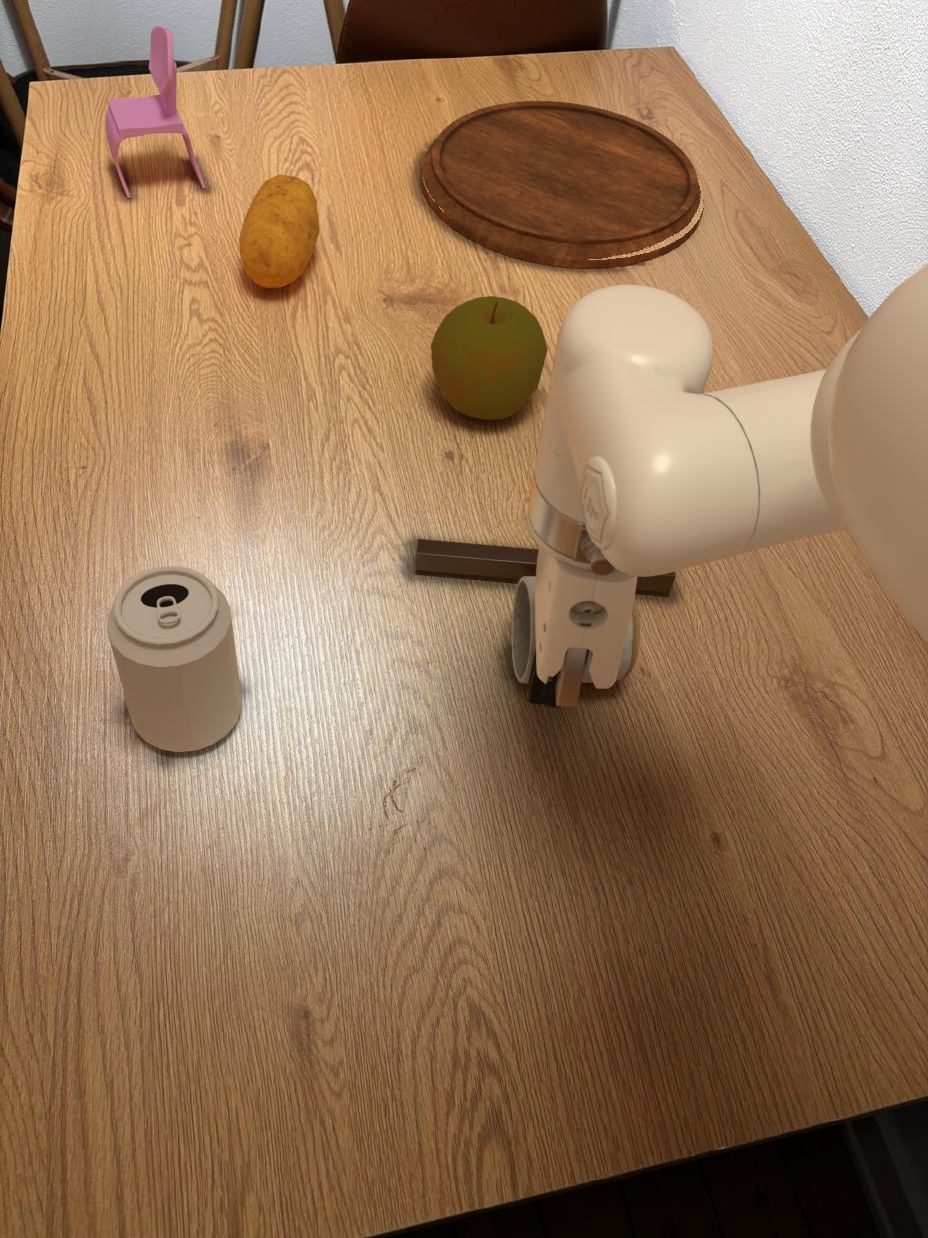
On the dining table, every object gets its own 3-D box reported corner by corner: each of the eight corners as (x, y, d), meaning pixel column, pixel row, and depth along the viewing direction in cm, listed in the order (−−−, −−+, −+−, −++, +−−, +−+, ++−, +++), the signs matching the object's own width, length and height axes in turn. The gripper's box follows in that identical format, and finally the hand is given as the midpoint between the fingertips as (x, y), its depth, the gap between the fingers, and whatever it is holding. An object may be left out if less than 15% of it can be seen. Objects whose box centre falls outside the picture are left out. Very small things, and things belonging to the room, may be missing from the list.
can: (232, 660, 80) (217, 546, 70) (252, 745, 75) (239, 635, 66) (125, 681, 78) (95, 567, 68) (139, 770, 73) (109, 660, 64)
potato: (330, 230, 116) (329, 166, 110) (304, 311, 106) (301, 245, 101) (261, 221, 116) (257, 157, 110) (229, 302, 106) (223, 235, 101)
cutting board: (624, 305, 111) (629, 283, 109) (363, 196, 120) (363, 173, 118) (746, 177, 130) (752, 156, 128) (511, 91, 139) (514, 70, 137)
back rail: (669, 596, 87) (676, 576, 85) (414, 574, 86) (416, 553, 84) (666, 566, 89) (673, 546, 87) (417, 544, 88) (419, 523, 86)
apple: (521, 364, 104) (537, 261, 96) (551, 433, 98) (570, 329, 90) (417, 374, 102) (423, 269, 93) (441, 444, 96) (450, 339, 88)
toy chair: (110, 163, 120) (84, 18, 109) (191, 154, 123) (174, 11, 111) (124, 203, 116) (99, 56, 104) (208, 193, 118) (193, 48, 107)
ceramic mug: (630, 702, 80) (652, 634, 74) (518, 705, 79) (531, 636, 73) (604, 592, 87) (622, 522, 81) (501, 594, 86) (512, 523, 80)
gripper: (675, 612, 57) (610, 795, 71) (654, 421, 66) (600, 616, 80) (530, 600, 57) (493, 787, 71) (529, 410, 66) (497, 607, 80)
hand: (550, 695), depth 76 cm, fingers closed
